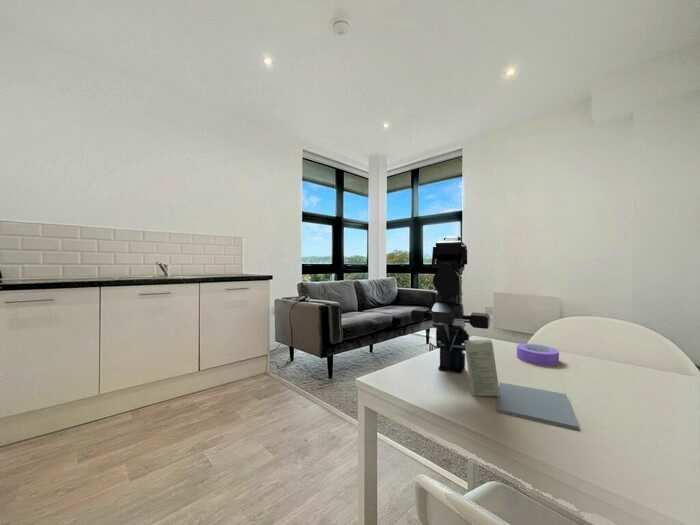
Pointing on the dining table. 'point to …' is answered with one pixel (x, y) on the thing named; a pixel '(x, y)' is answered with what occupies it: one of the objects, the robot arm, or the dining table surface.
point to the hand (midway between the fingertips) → (448, 351)
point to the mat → (536, 405)
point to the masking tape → (538, 354)
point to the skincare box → (482, 368)
